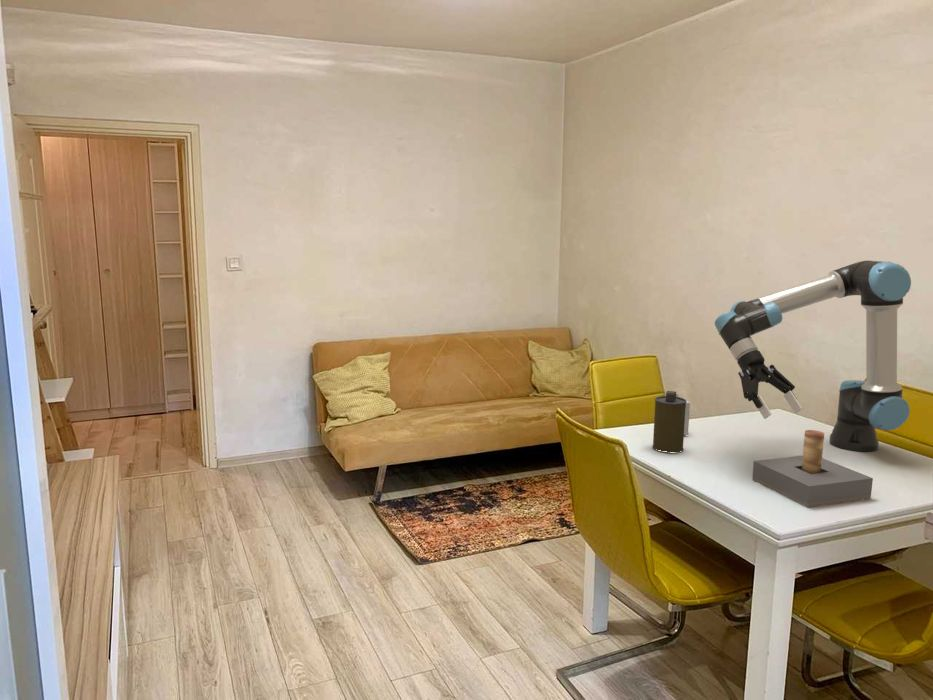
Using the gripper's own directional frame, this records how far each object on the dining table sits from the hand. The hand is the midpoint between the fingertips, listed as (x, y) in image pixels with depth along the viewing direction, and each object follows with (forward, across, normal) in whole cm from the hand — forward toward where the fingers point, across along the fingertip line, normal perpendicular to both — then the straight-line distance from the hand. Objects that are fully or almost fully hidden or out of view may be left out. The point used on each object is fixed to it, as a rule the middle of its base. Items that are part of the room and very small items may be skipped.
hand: (783, 413), depth 213 cm
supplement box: (-19, -5, -49) cm, 53 cm away
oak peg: (+21, +1, -5) cm, 22 cm away
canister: (-11, +10, -40) cm, 43 cm away
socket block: (+22, +1, -6) cm, 23 cm away
